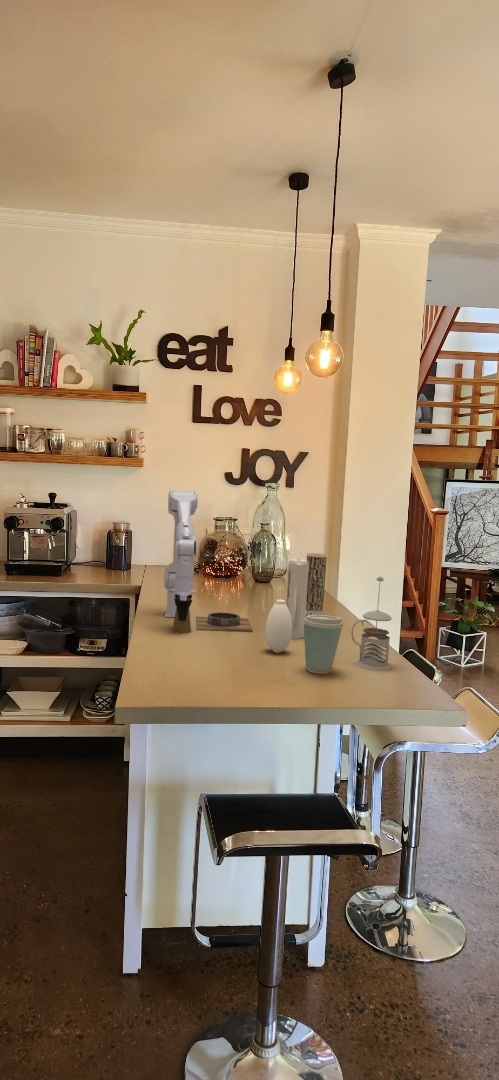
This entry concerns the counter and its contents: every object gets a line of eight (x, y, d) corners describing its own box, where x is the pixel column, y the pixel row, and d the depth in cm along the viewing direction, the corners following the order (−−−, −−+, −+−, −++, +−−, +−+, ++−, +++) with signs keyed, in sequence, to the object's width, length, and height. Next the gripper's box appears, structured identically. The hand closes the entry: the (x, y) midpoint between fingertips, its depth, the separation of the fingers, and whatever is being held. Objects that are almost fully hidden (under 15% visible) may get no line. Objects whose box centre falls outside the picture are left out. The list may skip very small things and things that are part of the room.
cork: (169, 629, 220) (171, 595, 219) (187, 628, 223) (189, 595, 222) (175, 633, 215) (177, 598, 214) (193, 632, 217) (195, 598, 216)
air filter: (304, 639, 217) (309, 561, 215) (284, 638, 217) (289, 560, 215) (303, 634, 223) (308, 558, 221) (283, 633, 224) (288, 557, 221)
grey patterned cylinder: (299, 623, 240) (304, 552, 238) (317, 623, 242) (322, 553, 240) (306, 628, 234) (311, 555, 231) (324, 627, 236) (330, 555, 233)
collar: (207, 619, 236) (207, 611, 236) (238, 620, 237) (238, 613, 237) (208, 626, 225) (208, 618, 225) (240, 627, 226) (241, 619, 226)
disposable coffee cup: (293, 666, 186) (296, 611, 184) (328, 664, 190) (332, 611, 188) (310, 677, 176) (314, 620, 174) (347, 675, 180) (351, 619, 178)
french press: (391, 671, 186) (398, 580, 184) (348, 666, 188) (355, 576, 186) (391, 662, 196) (398, 575, 193) (350, 657, 198) (356, 572, 196)
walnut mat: (196, 618, 239) (196, 616, 239) (247, 620, 241) (247, 618, 241) (197, 630, 221) (197, 628, 221) (252, 632, 223) (252, 630, 223)
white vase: (295, 654, 198) (299, 593, 196) (270, 656, 195) (274, 593, 193) (284, 647, 205) (287, 588, 203) (259, 649, 202) (263, 588, 200)
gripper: (197, 580, 210) (195, 624, 212) (196, 573, 225) (194, 614, 226) (174, 579, 210) (172, 623, 211) (175, 572, 224) (173, 613, 225)
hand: (182, 618), depth 218 cm, fingers closed on cork, 5 cm apart
